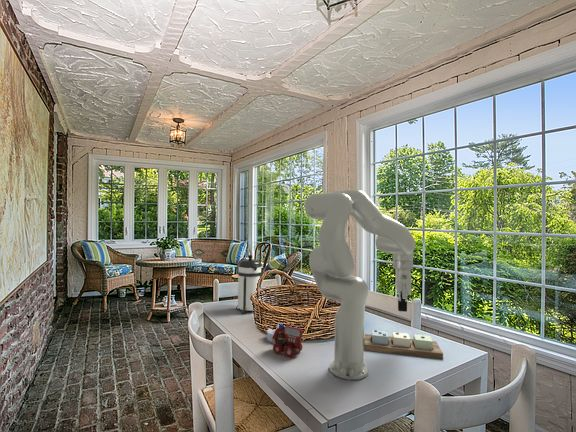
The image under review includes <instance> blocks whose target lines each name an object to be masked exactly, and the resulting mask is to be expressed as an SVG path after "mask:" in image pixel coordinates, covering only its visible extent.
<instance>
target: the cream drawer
mask: <svg viewBox="0 0 576 432" xmlns="http://www.w3.org/2000/svg"><path fill="white" fill-rule="evenodd" d="M391 337H392V340H393V344H392V345H393V346H402V347H410V339H411V337H410V334H409V333H406V332H397V331H394V332H393V331H392V336H391Z"/></svg>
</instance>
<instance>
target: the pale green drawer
mask: <svg viewBox="0 0 576 432" xmlns="http://www.w3.org/2000/svg"><path fill="white" fill-rule="evenodd" d="M412 339H413V342H414V345H415V346H414V348H420V349H429V350H431V349H433V339H432V338H431V336H430V335H424V334H415V333H414V334H413V337H412Z"/></svg>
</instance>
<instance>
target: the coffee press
mask: <svg viewBox="0 0 576 432" xmlns="http://www.w3.org/2000/svg"><path fill="white" fill-rule="evenodd" d="M247 257H248V258H247V259H242V260H240V261H239V263H238V264H237V267H238V271H237V275H238V279H237V280H238V281H237V285H238V286H237V290H238V292H237V305H236V307H235V309H236V310H239V309H240V310H241V311H242V312H241V314H242V315H247V314H246V313H247V312H248V311H254V310H253V307H252V303H251V301H250V294H251V293H253V292H254V291H256V288H257V283H258V280H259V279H260V278H261V279H262V267H263V264H262V262H261V261H260V260H258V259H255V258H253V255H252V254H248V256H247ZM260 289H262V284H261V285H260Z"/></svg>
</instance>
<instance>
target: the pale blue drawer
mask: <svg viewBox="0 0 576 432" xmlns="http://www.w3.org/2000/svg"><path fill="white" fill-rule="evenodd" d="M371 335H372V342H371V343H375V344H384V345H389V344H388V336H389V333H388V331H386V330H376V329H372V330H371Z"/></svg>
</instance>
